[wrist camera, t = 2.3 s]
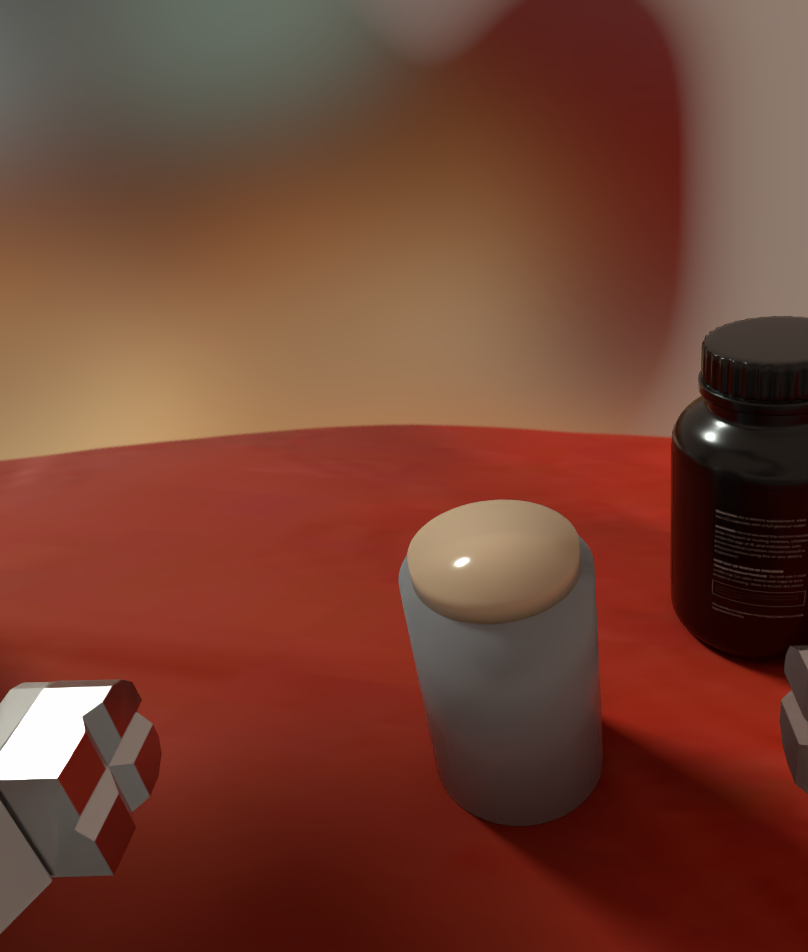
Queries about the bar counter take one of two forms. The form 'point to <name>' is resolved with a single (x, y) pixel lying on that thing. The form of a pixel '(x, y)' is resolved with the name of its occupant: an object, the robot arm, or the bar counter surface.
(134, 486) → the bar counter surface
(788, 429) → the supplement bottle
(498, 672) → the sugar jar
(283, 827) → the bar counter surface
